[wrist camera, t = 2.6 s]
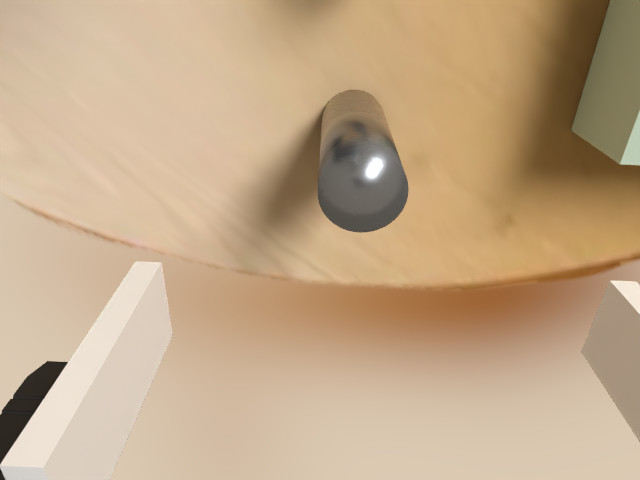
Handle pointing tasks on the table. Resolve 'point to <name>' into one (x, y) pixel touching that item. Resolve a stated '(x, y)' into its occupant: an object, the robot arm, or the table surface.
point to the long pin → (359, 165)
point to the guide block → (614, 87)
